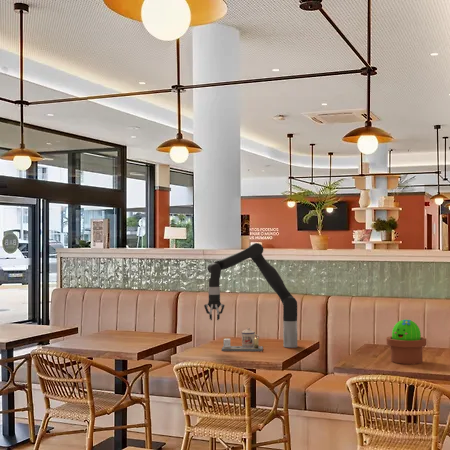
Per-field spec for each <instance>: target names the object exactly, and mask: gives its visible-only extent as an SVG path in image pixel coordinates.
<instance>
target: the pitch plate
mask: <svg viewBox="0 0 450 450" xmlns="http://www.w3.org/2000/svg"><path fill="white" fill-rule="evenodd" d="M259 342H260V341H259V340H258V337H255V338H254V346H243V345H230V348H224V345H223V346H222V348H221V352H263V349H264V347H263V346H262V345H261V346H259Z"/></svg>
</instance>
